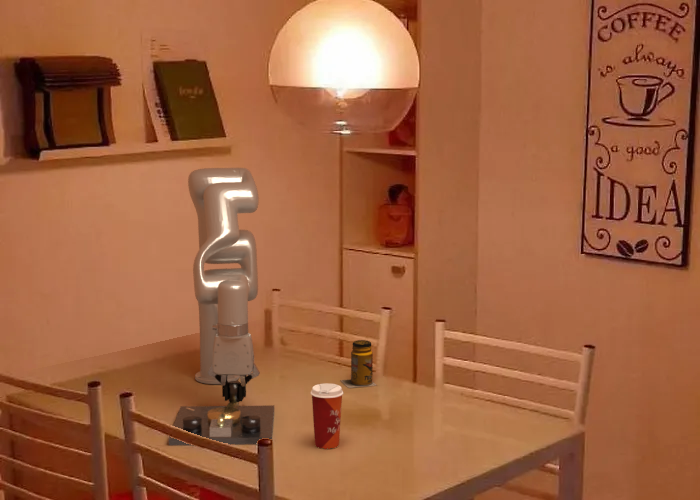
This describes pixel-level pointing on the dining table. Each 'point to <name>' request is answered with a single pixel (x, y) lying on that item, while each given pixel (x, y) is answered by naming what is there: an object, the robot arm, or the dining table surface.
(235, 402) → the crank dial
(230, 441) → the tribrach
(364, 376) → the condiment
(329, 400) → the paper cup
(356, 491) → the dining table surface
